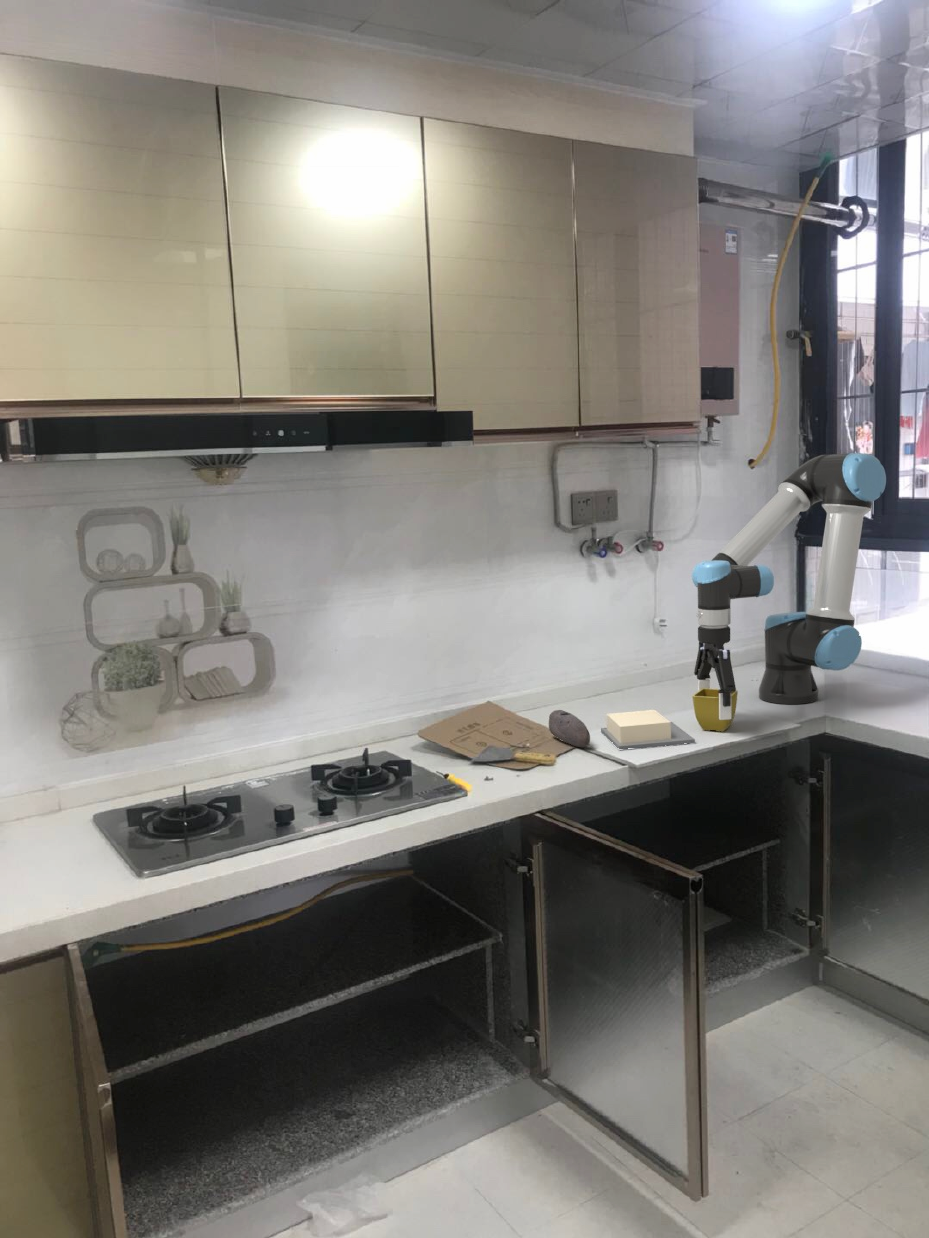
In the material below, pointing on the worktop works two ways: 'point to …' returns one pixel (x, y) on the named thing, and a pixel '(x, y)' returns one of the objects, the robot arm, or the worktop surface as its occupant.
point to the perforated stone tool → (569, 728)
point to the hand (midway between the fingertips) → (714, 712)
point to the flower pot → (712, 709)
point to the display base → (674, 739)
